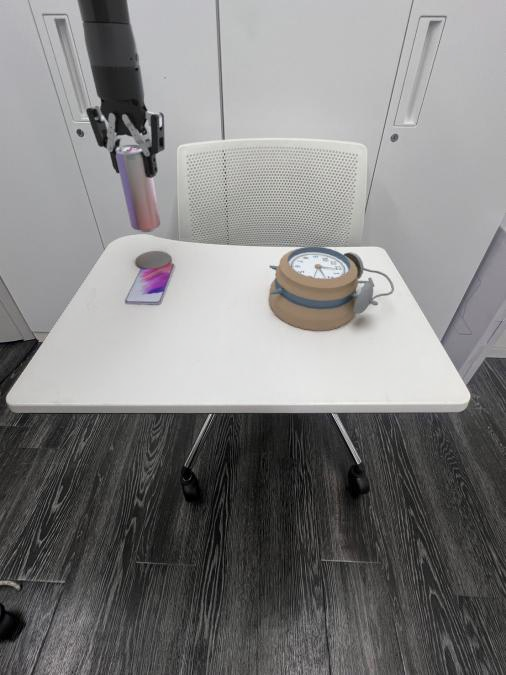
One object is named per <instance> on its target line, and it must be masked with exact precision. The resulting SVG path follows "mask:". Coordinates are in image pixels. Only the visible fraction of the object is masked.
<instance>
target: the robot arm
mask: <svg viewBox="0 0 506 675" xmlns="http://www.w3.org/2000/svg"><path fill="white" fill-rule="evenodd" d="M77 4H78V10H79V14H80V18H81V21H82V29H83V37H84V42H85V47H86V52H87V56H88V61H89V65H90V70H91V74H92V79H93V84H94V87H95V92H96V96H97V98H99V100H100V106H98V105H96V106H91V107H88V108H86V114H87V118H88V120H89V123H90V126H91V129H92V132H93V134H94V138H95V141H96V144H97V145H98V147H100V148H105V149H106V150H107V152H109V156H110V160H111V164H112V167H113V169H114V171H115V173H116V174H119V175H120V173H119V169H118V164H117V160H116V150H115V149H116V148H117V147H120V146H122V145H121V144H122V139H123V138H124V136H128V137H131V138H133V140H134V141H135V143H136V145H140V147H141V149H142V151H143V153H144V155H145V156H144V162H145V168H146V174H147V177H148V178H153V179H154V177H156V175H157V174H158V172H159V171H158V170H159V169H158V163H157V162H158V161H157V157H156V155H157V154H159V153H160V152H164V151H165V149H166V143H165V115H164V113H163V112H161V111H159V112H153V111H150V110H148V108H147V106H146V104H145V90H144V89H145V88H144V84H143V83H144V82H143V78H142V77H143V76H142V71H141V70H142V69H141V64H140V56H139V51H138V45H137V40H136V37H135V36H136V35H135V32H134V29H133V22H132V16H131V11H130V4H129V0H77ZM105 120H106V121H107V123H108V125H107V124H106V122H105ZM147 122H148V126H149V127H150V131H149V129H148V127H147V125H146V123H147Z"/></svg>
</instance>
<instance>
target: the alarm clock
mask: <svg viewBox="0 0 506 675" xmlns="http://www.w3.org/2000/svg"><path fill="white" fill-rule="evenodd" d="M269 268H270V269H272V270H273V271H275V274H274V276H275V278H274V279H273V280H272V282H271V284H270V287H269V294H268V303H269V307H270V309H271V310H272V312H273V313H274V315H275V316H276V317H278V318H279V319H280V320H281V321H283V322H285V323H287V324H288V325H291V326H293V327H296V328H299V329H303V330H306V331H307V330H308V331H331V330H334V329H337V328H340V327H342V326H344V325H346V324H348V323H349V321H351V320H352V319H353V317H354V315H360V314H362V313H364V312H365V311H366V310H367V309H368V307H369V306H370V305H373V306H378V305H379V302H378V301H377V300H375V299H377V298H380V297H383V296H384V297H385V296H390V295H392V294H393V293H394V291H395V286H394V283H393V281H392V279H391V278H390V277H389V275H388V274H386V273H385V272H381V271H379V270H373V269H368V268H365V267H364V262H363V260H362V259H361V256H359V255H358V254H357V253H355V252H352V251H349V252H345V253H341V252H339V251H338V250H335V249H332V248H328V247H323V246H304V247H299V248H295V249H293V250H289V251H288V252H286V253H285V254H283V255H282V257H280V259H279V264H278V265H271V264H270V265H269ZM364 271H365V272H368V273H374V274H378V275H380V276H383V277H384V278H386V280H387V281H388V283H389V285H390V287H391V290H390V291H389V292H385V293H379V294H375V295H374V287H375V283H374V280H373V278H372V277H368V280H360V279H361V278H362V276H363V274H364ZM359 284H363V285H362V286H361V289H360V290H359V292H358V291H357V288H358V285H359Z"/></svg>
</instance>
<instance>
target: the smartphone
mask: <svg viewBox="0 0 506 675" xmlns="http://www.w3.org/2000/svg"><path fill="white" fill-rule="evenodd" d="M175 267H176V265H175V264H174V263H172V262H171V263H168V264H167V265H165V266H163V267H160V268H156V269H144V268H141V269H140V268H139V271H138V273H137V275H136V277H135V278H134V282H133V283H132V285H131V288H130V289H129V290H128V291H129V292H128V293H127V295H126V297H125V299H124V303H125V305H139V306H140V305H144V306H160V305H162V303H163V301H164V298H165V295H166V292H167V290H168V286H169V284H170V281H171V278H172V275H173V273H174V269H175Z"/></svg>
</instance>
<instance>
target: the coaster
mask: <svg viewBox="0 0 506 675" xmlns="http://www.w3.org/2000/svg"><path fill="white" fill-rule="evenodd" d="M134 262H135V263H134V264H135V266H136V267H137V268H138V269H139V270H140V269H141V268H144V269H156V268H160V267H163V266H165V265H167V264H168V263H172V255H170V253H168V252H166V251H162V250H150V251H146V252H143V253H141V254H139V255H138V256H137V257H136V258H135V260H134Z"/></svg>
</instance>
